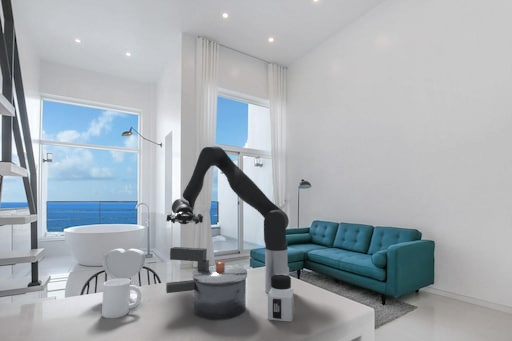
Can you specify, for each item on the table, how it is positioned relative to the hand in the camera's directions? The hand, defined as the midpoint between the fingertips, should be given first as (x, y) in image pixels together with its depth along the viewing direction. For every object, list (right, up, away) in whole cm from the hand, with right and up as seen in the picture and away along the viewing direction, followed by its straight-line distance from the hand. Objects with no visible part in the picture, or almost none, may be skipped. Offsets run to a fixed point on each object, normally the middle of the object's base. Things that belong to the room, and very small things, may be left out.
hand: (185, 221), depth 109 cm
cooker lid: (+10, -18, -9) cm, 22 cm away
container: (+35, -28, -16) cm, 48 cm away
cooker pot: (+10, -28, -12) cm, 33 cm away
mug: (-18, -28, -15) cm, 37 cm away
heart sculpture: (-25, -30, +1) cm, 39 cm away
